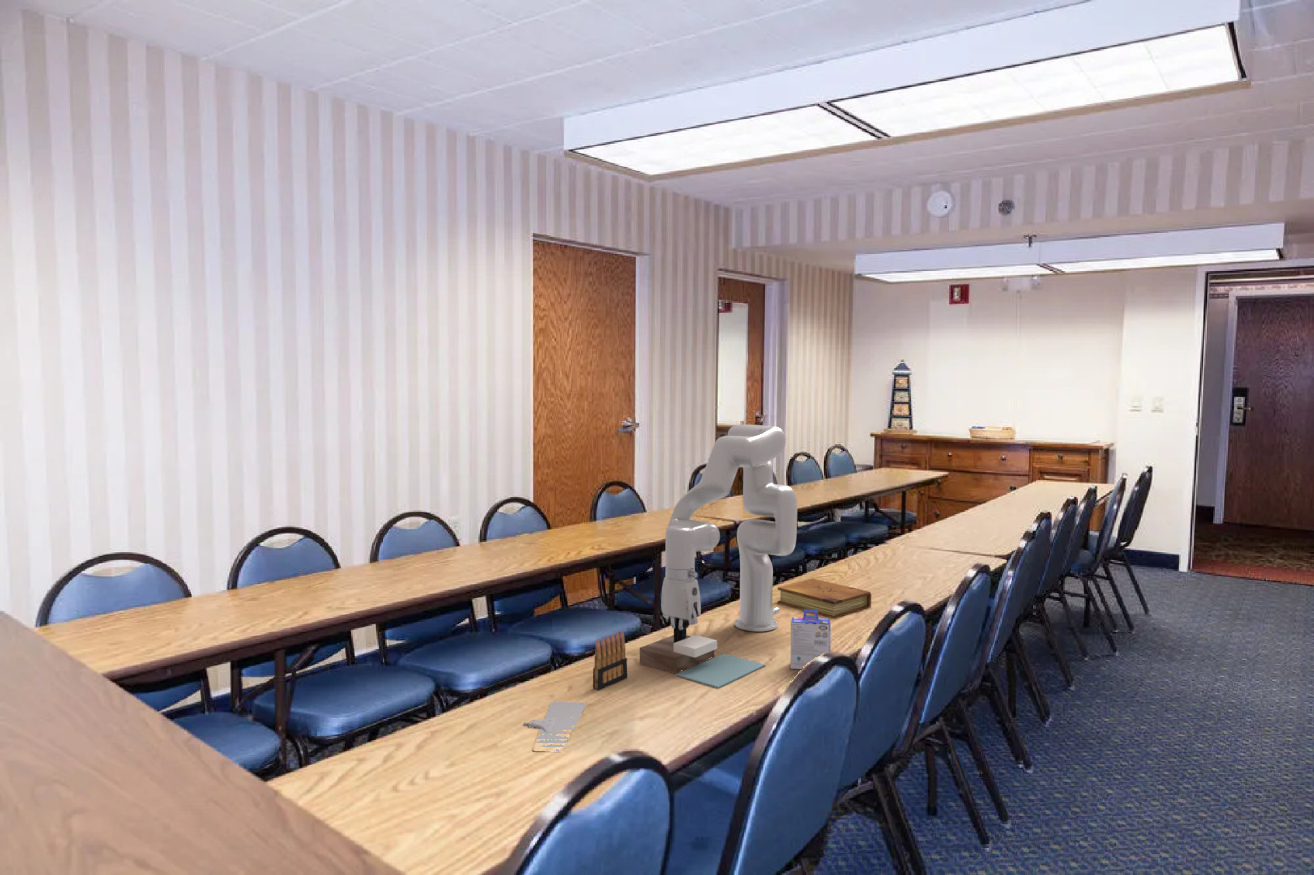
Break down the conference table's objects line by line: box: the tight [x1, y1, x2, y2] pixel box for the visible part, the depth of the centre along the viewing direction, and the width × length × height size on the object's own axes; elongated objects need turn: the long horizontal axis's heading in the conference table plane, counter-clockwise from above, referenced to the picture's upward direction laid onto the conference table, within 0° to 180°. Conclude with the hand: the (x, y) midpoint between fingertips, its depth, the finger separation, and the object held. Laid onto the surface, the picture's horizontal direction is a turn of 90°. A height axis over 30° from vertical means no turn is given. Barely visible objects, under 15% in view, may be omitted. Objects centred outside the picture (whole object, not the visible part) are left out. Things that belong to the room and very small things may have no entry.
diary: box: [777, 578, 872, 619], centre depth 270 cm, size 23×19×6 cm
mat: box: [675, 653, 766, 689], centre depth 210 cm, size 20×13×1 cm, turn 139°
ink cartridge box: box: [789, 609, 832, 670], centre depth 212 cm, size 10×6×14 cm, turn 78°
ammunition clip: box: [592, 629, 628, 691], centre depth 201 cm, size 11×2×12 cm, turn 142°
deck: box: [639, 634, 715, 674], centre depth 218 cm, size 16×12×4 cm
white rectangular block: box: [674, 634, 718, 658], centre depth 213 cm, size 9×7×2 cm
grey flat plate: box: [523, 701, 588, 751], centre depth 178 cm, size 25×24×1 cm
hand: (680, 643), depth 217 cm, fingers closed
